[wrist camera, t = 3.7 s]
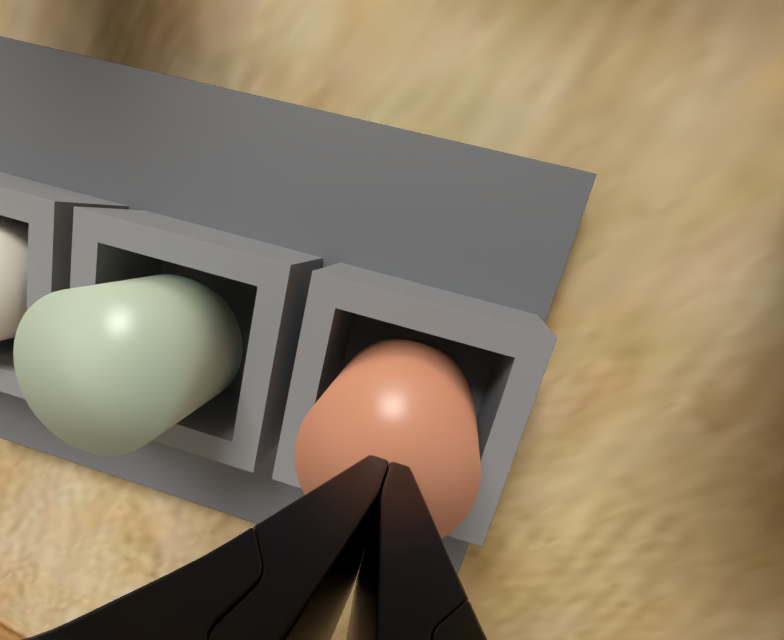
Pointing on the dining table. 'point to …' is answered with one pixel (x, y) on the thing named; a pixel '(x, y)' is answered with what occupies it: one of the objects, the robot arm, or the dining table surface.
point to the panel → (281, 258)
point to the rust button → (398, 425)
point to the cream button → (12, 274)
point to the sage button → (125, 359)
